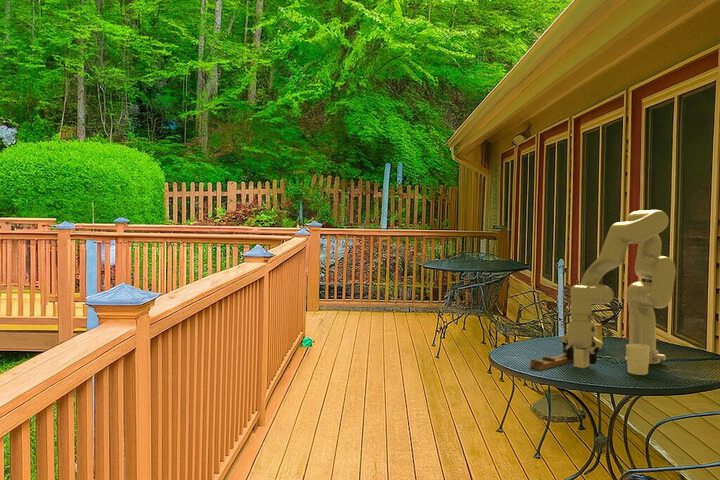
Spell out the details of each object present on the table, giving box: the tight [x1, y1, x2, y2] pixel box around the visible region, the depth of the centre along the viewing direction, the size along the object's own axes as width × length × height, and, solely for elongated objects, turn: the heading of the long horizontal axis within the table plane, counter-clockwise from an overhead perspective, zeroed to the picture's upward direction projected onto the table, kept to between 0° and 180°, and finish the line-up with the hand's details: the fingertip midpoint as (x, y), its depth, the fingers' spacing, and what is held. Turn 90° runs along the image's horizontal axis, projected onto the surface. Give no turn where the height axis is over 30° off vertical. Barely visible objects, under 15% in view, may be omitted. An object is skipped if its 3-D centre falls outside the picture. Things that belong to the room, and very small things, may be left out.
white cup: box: [625, 343, 650, 376], centre depth 217 cm, size 8×8×10 cm
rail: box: [530, 339, 578, 371], centre depth 234 cm, size 5×29×9 cm, turn 128°
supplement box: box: [594, 322, 603, 348], centre depth 261 cm, size 6×6×11 cm
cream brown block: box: [573, 347, 591, 369], centre depth 228 cm, size 4×5×7 cm
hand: (581, 361), depth 228 cm, fingers open, 9 cm apart
